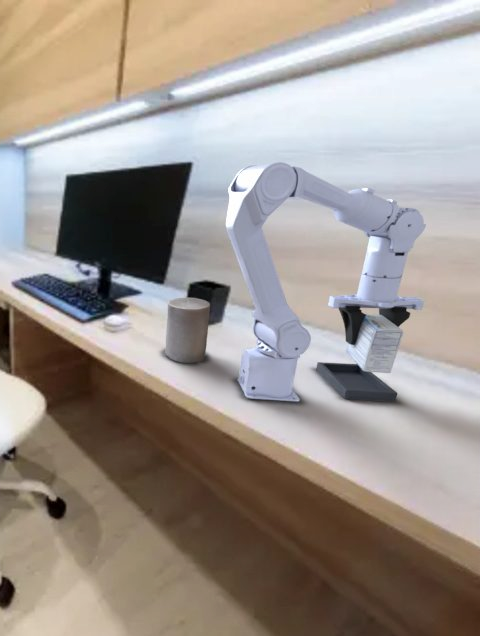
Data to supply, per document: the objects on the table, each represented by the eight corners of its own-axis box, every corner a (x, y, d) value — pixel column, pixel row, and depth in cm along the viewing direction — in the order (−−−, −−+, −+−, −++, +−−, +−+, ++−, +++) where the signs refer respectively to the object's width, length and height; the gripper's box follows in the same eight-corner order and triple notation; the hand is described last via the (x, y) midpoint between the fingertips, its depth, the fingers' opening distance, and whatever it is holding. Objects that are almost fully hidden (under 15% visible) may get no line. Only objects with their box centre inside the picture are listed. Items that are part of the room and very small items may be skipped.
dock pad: (344, 398, 74) (346, 390, 73) (315, 369, 85) (317, 362, 85) (395, 401, 72) (397, 393, 71) (359, 371, 84) (361, 364, 83)
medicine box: (390, 374, 69) (405, 331, 66) (362, 372, 70) (375, 329, 67) (369, 353, 76) (382, 313, 73) (344, 352, 77) (355, 312, 74)
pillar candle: (208, 351, 97) (214, 294, 92) (201, 366, 89) (206, 305, 84) (170, 345, 102) (173, 290, 97) (159, 359, 94) (162, 300, 89)
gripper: (347, 279, 68) (332, 349, 72) (444, 280, 65) (422, 353, 69) (329, 271, 74) (316, 336, 78) (416, 271, 71) (397, 339, 76)
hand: (364, 343), depth 74 cm, fingers closed on medicine box, 4 cm apart
